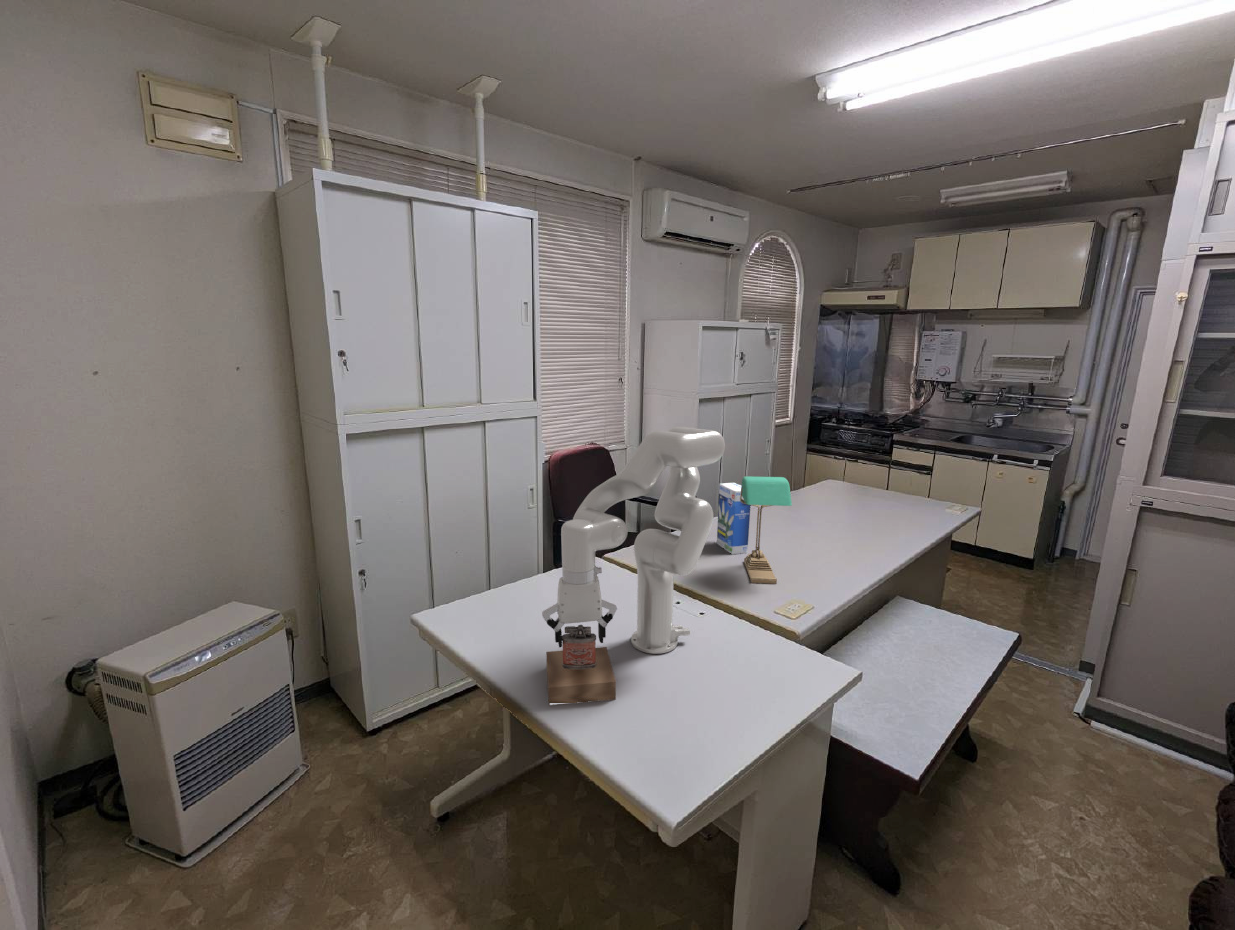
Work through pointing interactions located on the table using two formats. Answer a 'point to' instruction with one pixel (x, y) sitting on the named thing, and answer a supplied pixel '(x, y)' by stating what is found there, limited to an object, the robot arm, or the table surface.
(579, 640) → the lighter
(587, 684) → the walnut block
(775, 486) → the banker's lamp
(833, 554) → the table surface
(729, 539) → the string lights box
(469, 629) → the table surface
